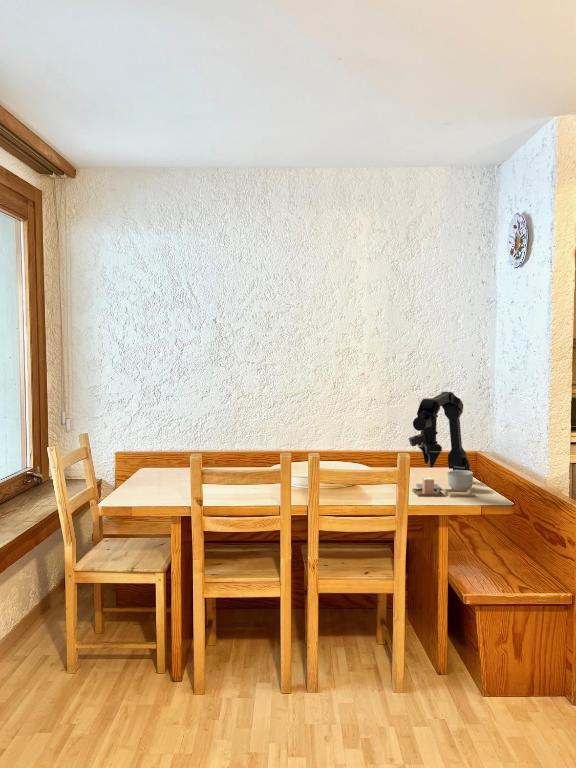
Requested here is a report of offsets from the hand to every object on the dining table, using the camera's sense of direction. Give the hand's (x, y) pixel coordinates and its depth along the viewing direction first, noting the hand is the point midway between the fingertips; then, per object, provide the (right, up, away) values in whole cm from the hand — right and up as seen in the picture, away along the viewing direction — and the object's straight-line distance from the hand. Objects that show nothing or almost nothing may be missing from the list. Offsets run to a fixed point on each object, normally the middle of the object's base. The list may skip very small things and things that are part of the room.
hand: (428, 465), depth 279 cm
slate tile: (+3, -12, +12) cm, 17 cm away
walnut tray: (0, -13, +1) cm, 13 cm away
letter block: (0, -12, +1) cm, 12 cm away
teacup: (+17, -12, +13) cm, 24 cm away
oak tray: (+13, -13, 0) cm, 18 cm away
